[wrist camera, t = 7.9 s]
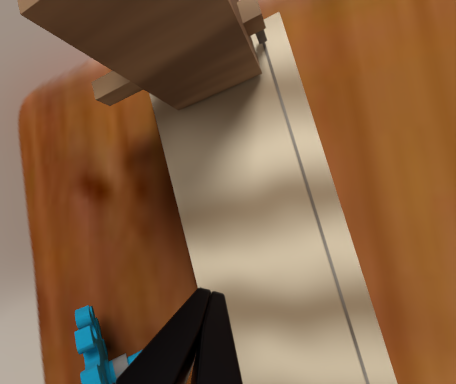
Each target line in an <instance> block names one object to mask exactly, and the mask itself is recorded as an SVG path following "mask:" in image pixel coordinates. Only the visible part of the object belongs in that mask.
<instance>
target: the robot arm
mask: <svg viewBox="0 0 456 384" xmlns="http://www.w3.org/2000/svg"><path fill="white" fill-rule="evenodd" d="M194 359H195V361H194ZM193 363H194V366H193ZM192 366H193V372H192V378H191V384H243V382H242V377H241V372H240V367H239V362H238V357H237V353H236V348H235V343H234V338H233V333H232V328H231V323H230V318H229V313H228V308H227V303H226V299H225V295H224V294H223V293H220V292H217V291H212V292H211V291H210V290H209V289H205V288H201V287H200V288H198V289H197V290H196V291H195V292H194V293H193V294H192V295H191V296H190V298H189V299H188V300H187V301H186V302H185V303H184V304H183V305H182V307H181V308H180V309H179V310H178V311H177V312H176V313H175V314H174V315H173V317H172V318H171V319H170V320H169V321H168V322H167V323H166V324H165V326H164V327H163V328H162V329H161V330H160V331H159V332H158V333H157V334H156V336H155V337H154V338H153V339H152V340H151V341H150V342H149V343H148V344H147V346H146V347H145V348H144V349H143V350H142V351H141V352H140V353H139V355H138V356H137V357H136V358H135V359H134V360H133V361H132V362H131V363H130V365H129V366H128V367H127V368H126V369H125V370H124V371H123V372H122V373H121V375H120V376H119V377H118V378H117V379H116V383H112V384H186V382H187V379H188V377H189V374H190V371H191V369H192Z"/></svg>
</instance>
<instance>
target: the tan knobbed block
mask: <svg viewBox="0 0 456 384" xmlns="http://www.w3.org/2000/svg"><path fill="white" fill-rule="evenodd" d="M18 5H19V10H20V14H21V15H22V16H24V17H26V18H27V19H29V20H30V21H32V22H34V23H35V24H37V25H39V26H40V27H42V28H44V29H45V30H47V31H49V32H50V33H52V34H53V35H55V36H57V37H59V38H60V39H62V40H64V41H65V42H67V43H68V44H70V45H72V46H73V47H75V48H76V49H78V50H80V51H82V52H83V53H85V54H87V55H88V56H90V57H91V58H93V59H94V60H96V61H98V62H99V63H101V64H103V65H104V66H106V67H108V68H109V69H111V70H113V71H111V72H109V73H108V74H106V75H104V76H102V77H100V78H99V79H97V80H95V81H93V82H92V86H93V91H94V95H95V99H96V100H97V101H100V102H102V103H104V104H107V105H109V106H111V105H113V104H115V103H117V102H119V101H121V100H123V99H125V98H127V97H129V96H131V95H133V94H135V93H137V92H139V91H141V90H143V89H144V90H145V91H147V92H149V93H150V94H152V95H154V96H155V97H157V98H159V99H160V100H162V101H163V102H165V103H167V104H168V105H170V106H172V107H173V108H175V109H177V110H178V111H179V110H181V109H183V108H185V107H188V106H190V105H192V104H194V103H197V102H199V101H201V100H203V99H206V98H208V97H210V96H212V95H215V94H217V93H219V92H221V91H224V90H226V89H228V88H230V87H233V86H235V85H237V84H239V83H242V82H244V81H246V80H248V79H251V78H253V77H255V76H257V75H260V74H262V71H261V68H260V65H259V61H258V58H257V55H256V51H255V48H254V45H253V41H252V38H251V35H253V34H256V37H257V39H258V42H259V44H262V43H264V42H266V41H267V38H266V35H265V32H264V29H265V28H266V26H265V23H264V20H263V17H262V13H261V10H260V7H259V4H258V0H240V1H239V0H18Z"/></svg>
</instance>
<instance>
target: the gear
mask: <svg viewBox="0 0 456 384" xmlns="http://www.w3.org/2000/svg"><path fill="white" fill-rule="evenodd" d="M75 320H76V324H77V327H78V329H79V330H78V331H75V340H76V346H77V351H78V353H79V355H80V354H82V353H83V355H84V359H85V370H84V371H82V372H81V374H80V377H81V382H82V384H112V383H116V379H117V378H118V377H119V376H120V375H121V373H122V372H123V371H124V370H125V369H126V368H127V367H128V366H129V365H130V363H131V362H132V361H133V360H134V359H135V358H136V357H137V356H138V355H139V353H140V352H141V351H142V350H141V351H139V352H137V353H135V354H133V355H131V356H129V357H127V356H126V353H125V354H123V355H121V356H119V357H117V358H115V359H113V360H111V361H108V352H107V348H106V344H105V341H104V339H102V335H101V329H100V325H99V321H98V319H97V317H96V318H95V314H94V310H93V307H92V306H90V307H89V305H88V306H85V307H83V308H80V309H78V310H75Z"/></svg>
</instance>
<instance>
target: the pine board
mask: <svg viewBox="0 0 456 384" xmlns="http://www.w3.org/2000/svg"><path fill="white" fill-rule="evenodd" d="M264 23H265V26H266V28H265V29H264V32H265V35H266V38H267V41H266V42H264V43H262V44H259V42H258V39H257V37H256V34H253V35H251V38H252V41H253V45H254V48H255V51H256V55H257V58H258V61H259V65H260V68H261V71H262V74H260V75H257V76H255V77H253V78H251V79H248V80H246V81H244V82H242V83H239V84H237V85H235V86H233V87H230V88H228V89H226V90H224V91H221V92H219V93H217V94H215V95H212V96H210V97H208V98H206V99H203V100H201V101H199V102H197V103H194V104H192V105H190V106H188V107H185V108H183V109H181V110H179V111H178V110H177V109H175V108H173V107H172V106H170V105H168V104H167V103H165V102H163V101H162V100H160V99H159V98H157V97H155V96H154V95H152V94H150V93H149V94H150V98H151V102H152V106H153V110H154V114H155V118H156V122H157V126H158V130H159V134H160V138H161V142H162V146H163V150H164V154H165V158H166V162H167V166H168V170H169V174H170V178H171V182H172V186H173V190H174V194H175V198H176V202H177V206H178V210H179V214H180V218H181V222H182V226H183V230H184V234H185V238H186V242H187V246H188V250H189V254H190V258H191V262H192V266H193V270H194V274H195V278H196V282H197V286H198V288H200V287H201V288H205V289H209V290H210V291H211V292H212V291H217V292H220V293H223V294H224V295H225V299H226V303H227V308H228V313H229V318H230V323H231V328H232V333H233V338H234V343H235V348H236V353H237V357H238V362H239V367H240V372H241V377H242V382H243V384H397V381H396V378H395V375H394V371H393V368H392V365H391V362H390V359H389V356H388V353H387V349H386V346H385V343H384V340H383V337H382V334H381V331H380V327H379V324H378V321H377V318H376V315H375V312H374V309H373V305H372V302H371V299H370V296H369V293H368V290H367V286H366V283H365V280H364V277H363V274H362V271H361V268H360V264H359V261H358V258H357V255H356V252H355V249H354V246H353V242H352V239H351V236H350V233H349V230H348V227H347V224H346V220H345V217H344V214H343V211H342V208H341V205H340V202H339V198H338V195H337V192H336V189H335V186H334V183H333V179H332V176H331V173H330V170H329V167H328V164H327V161H326V157H325V154H324V151H323V148H322V145H321V142H320V139H319V135H318V132H317V129H316V126H315V123H314V120H313V117H312V113H311V110H310V107H309V104H308V101H307V98H306V95H305V91H304V88H303V85H302V82H301V79H300V76H299V72H298V69H297V66H296V63H295V60H294V57H293V54H292V50H291V47H290V44H289V41H288V38H287V35H286V32H285V28H284V25H283V22H282V19H281V16H280V13H279V12H278V13H276V14H274V15H272V16H270V17H268V18H266V19H264Z"/></svg>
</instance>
